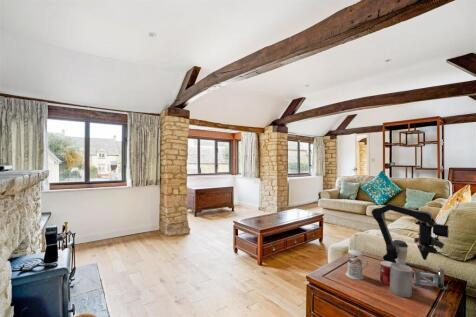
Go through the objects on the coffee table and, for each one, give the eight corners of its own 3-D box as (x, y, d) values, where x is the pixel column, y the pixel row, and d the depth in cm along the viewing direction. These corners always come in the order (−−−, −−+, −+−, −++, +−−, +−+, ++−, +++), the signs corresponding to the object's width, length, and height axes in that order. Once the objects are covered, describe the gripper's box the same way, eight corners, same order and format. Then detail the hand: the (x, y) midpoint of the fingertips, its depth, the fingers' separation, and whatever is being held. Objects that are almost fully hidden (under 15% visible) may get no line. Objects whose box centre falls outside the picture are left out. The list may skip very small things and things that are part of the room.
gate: (436, 284, 130) (436, 274, 130) (437, 285, 129) (437, 275, 129) (414, 281, 133) (414, 271, 133) (415, 282, 132) (415, 272, 132)
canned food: (381, 277, 138) (382, 259, 138) (397, 283, 133) (398, 264, 133) (378, 282, 133) (378, 263, 133) (394, 288, 127) (395, 268, 127)
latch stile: (414, 286, 130) (415, 271, 130) (412, 283, 133) (412, 268, 133) (422, 287, 129) (422, 272, 129) (419, 284, 132) (420, 269, 132)
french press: (344, 270, 147) (346, 230, 147) (365, 273, 143) (366, 233, 143) (346, 277, 137) (347, 235, 137) (368, 281, 133) (369, 238, 133)
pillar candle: (390, 285, 130) (391, 258, 130) (412, 291, 124) (413, 264, 124) (388, 292, 123) (389, 264, 123) (411, 300, 117) (412, 270, 117)
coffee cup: (402, 260, 164) (402, 239, 164) (410, 266, 155) (411, 243, 155) (388, 259, 165) (389, 238, 165) (396, 265, 156) (396, 243, 156)
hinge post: (438, 288, 128) (438, 269, 128) (434, 285, 132) (435, 266, 132) (447, 290, 127) (447, 270, 127) (442, 286, 131) (443, 267, 131)
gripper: (449, 240, 126) (448, 269, 126) (436, 231, 143) (435, 256, 143) (424, 237, 130) (423, 264, 130) (414, 228, 147) (413, 252, 147)
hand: (424, 259), depth 138 cm, fingers closed
